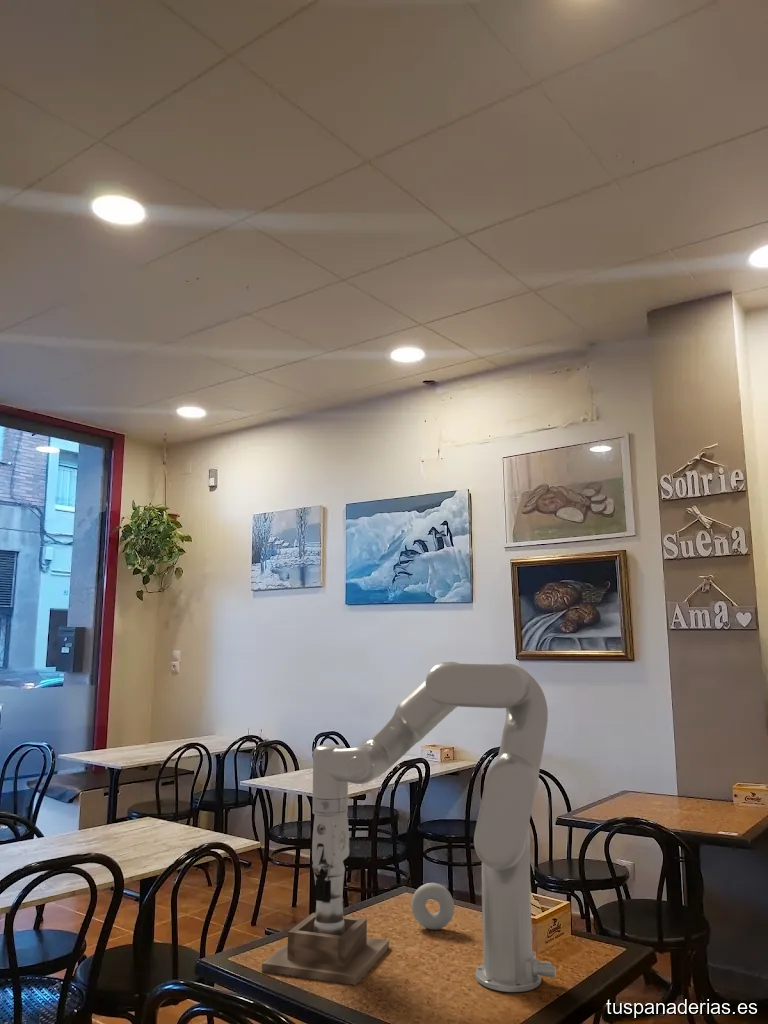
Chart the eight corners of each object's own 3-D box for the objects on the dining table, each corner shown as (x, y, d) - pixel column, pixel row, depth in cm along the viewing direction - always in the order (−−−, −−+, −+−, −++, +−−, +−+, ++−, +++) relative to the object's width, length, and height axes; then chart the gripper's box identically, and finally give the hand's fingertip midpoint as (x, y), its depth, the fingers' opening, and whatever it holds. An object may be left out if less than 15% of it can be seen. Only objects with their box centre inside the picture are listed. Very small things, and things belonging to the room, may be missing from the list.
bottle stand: (388, 947, 165) (388, 915, 166) (356, 985, 147) (356, 948, 148) (303, 937, 171) (304, 905, 173) (261, 971, 153) (262, 936, 154)
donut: (410, 930, 176) (410, 883, 177) (412, 925, 179) (412, 879, 181) (454, 933, 174) (453, 886, 176) (455, 928, 177) (454, 881, 179)
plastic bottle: (341, 951, 156) (341, 846, 159) (308, 949, 157) (310, 844, 161) (348, 939, 162) (349, 839, 166) (317, 937, 163) (318, 837, 167)
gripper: (330, 814, 155) (330, 910, 152) (360, 799, 171) (360, 886, 168) (296, 812, 158) (295, 906, 154) (329, 797, 174) (328, 882, 170)
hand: (329, 895), depth 161 cm, fingers closed on plastic bottle, 6 cm apart
